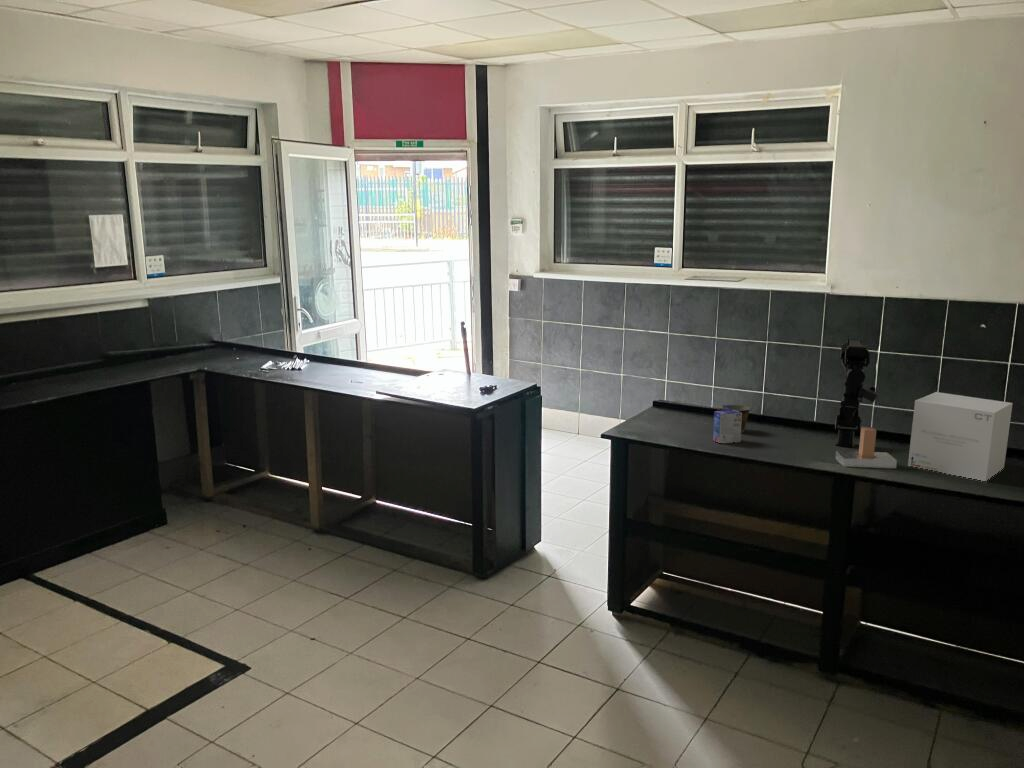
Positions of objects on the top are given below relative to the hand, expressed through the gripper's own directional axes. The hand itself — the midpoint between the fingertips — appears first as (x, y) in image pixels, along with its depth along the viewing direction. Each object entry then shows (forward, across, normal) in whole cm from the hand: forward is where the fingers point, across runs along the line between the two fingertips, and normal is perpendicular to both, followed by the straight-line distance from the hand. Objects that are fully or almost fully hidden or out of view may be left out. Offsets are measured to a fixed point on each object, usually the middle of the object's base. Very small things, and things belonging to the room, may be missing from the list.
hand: (850, 420), depth 298 cm
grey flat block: (+13, -9, -7) cm, 17 cm away
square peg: (+13, -9, -7) cm, 17 cm away
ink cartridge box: (+13, -4, +44) cm, 46 cm away
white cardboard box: (+14, +2, -36) cm, 38 cm away
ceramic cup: (+13, +14, +46) cm, 50 cm away
